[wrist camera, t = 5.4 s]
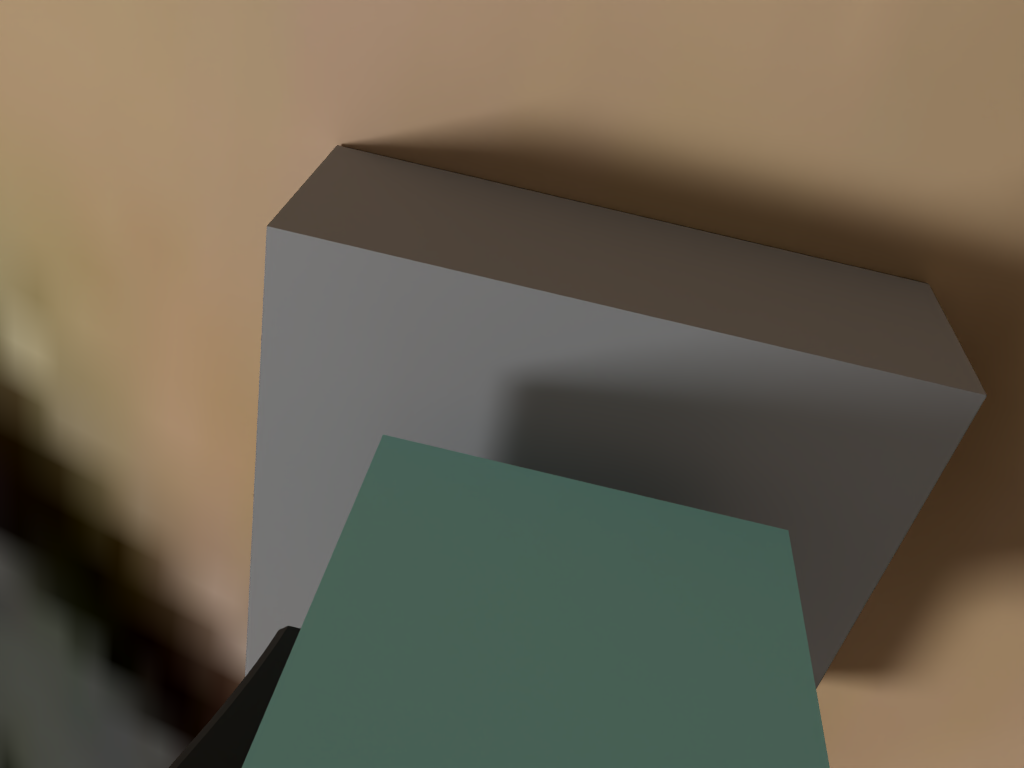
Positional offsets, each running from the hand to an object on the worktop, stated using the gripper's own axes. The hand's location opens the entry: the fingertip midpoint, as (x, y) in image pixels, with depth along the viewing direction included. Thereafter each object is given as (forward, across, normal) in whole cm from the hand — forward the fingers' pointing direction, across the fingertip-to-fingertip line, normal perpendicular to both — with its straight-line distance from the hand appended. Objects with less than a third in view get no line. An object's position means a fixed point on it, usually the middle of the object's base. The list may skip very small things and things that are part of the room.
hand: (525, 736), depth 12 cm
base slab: (+6, 0, 0) cm, 6 cm away
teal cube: (+2, 0, 0) cm, 2 cm away
